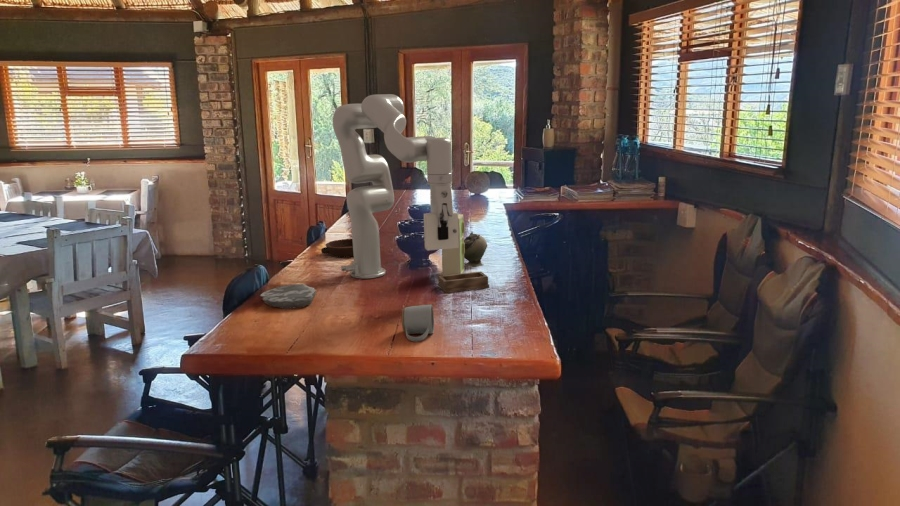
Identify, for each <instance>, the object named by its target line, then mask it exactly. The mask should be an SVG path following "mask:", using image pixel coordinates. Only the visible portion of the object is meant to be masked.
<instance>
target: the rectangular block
mask: <svg viewBox="0 0 900 506" xmlns="http://www.w3.org/2000/svg"><path fill="white" fill-rule="evenodd" d="M448 214H449V213H448ZM458 214H459V213H458V212H457V211H455V210H453V216H452V217H450V215H448V239H447V240H438V227H439V224H438V217H437V216H436V215H435V214H434V213H432V212H425V213H423V233H424V234H423V236H424V238H423V239H424V249H425V250H426V251H436V250H437V251H438V250H442V249H451V248H459V240H458ZM440 217H443V215H441V216H440ZM441 220H443V219H441Z"/></svg>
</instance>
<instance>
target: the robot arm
mask: <svg viewBox="0 0 900 506" xmlns="http://www.w3.org/2000/svg"><path fill="white" fill-rule="evenodd" d="M404 111H405V106H404V102H403V100H402V98H400V97H399V96H398V95H396V94H391V93H387V94H386V93H385V94H380V93H379V94H370V95H368V96H366V97H365V98H364V99H363V100H362V102H361V103H348V104H347V103H346V104H342V105H340V106H338V107H337V108H336V109H335V111H333V112H334V113H333V117H332V127H333V132H334V134H335V137H336V139H337V142H338V145H339V148H340V152H341V157H342V163H343V169H344V172H345V176H346V179H347V181H348V182H349V183H352V184H366V183H372V185H367V186H360V187H359V186H357V187H355V188H353V189H352V190H350V191H349V192H348V193H347V195H346V204H347V205H346V206H347V208H348V209H347V210H348V213H349V217H350V227H351V236H352V237H351V239H352V240H353V255H354V257H353V261H352V262H351V263H350V264H348V265H347V264H346V265H340V268H341V269H340V270H341V272H344V271H345V273H346V272H350V273H349V274H350V276H351V277H352V278H354V279H368V280H369V279H374V278H375V279H376V278H380V277H382V276H384V275H385V274H387V273H386V271H387V270H386V269H385V268H383V267H382V264H381V246H380V242H381V241H380V232H379V231H380V229H379V228H380V227H379V223H378V221H377V219H376V218H375V216H374V213H378V212H383V211H388V210H391V208H392V207H393V206H394V205H395V204H394V203H395V194H394V187H393V182H392V175H391V171H390V167H389V164H388V162H387V160H386V158H385V157H383V156H382V155H381V154H367V151H366V150H367V149H366V146H365V142H364V140H363V138H362V137H361V135H360V134H359V133H358V132H357V131H356V130H357V129H358V130H361V129H364V130H365V129H376V128H378V129H379V130H380V131H381V132H382V133H383V139H384V144H385V147H386V148H387V150H388V151H389V152H390V154H392V155H393V156H394V157H396V159H398V160H399V161H400V162H404V163H407V164H408V163H415V162H416V163H418V162H426V175H427V177H426V179H427V185H428V186H430V193H429V195H430V213H434V214H435V215H436V216H437V217H438V224H439V227H438V240H447V239H448V215H450V217H452V216H453V211H454V208H453V206H454V205H453V194H452V187H451V186H452V184H453V159H452V158H453V157H452V141H451V139H450V138H447V137H435V136H430V135H425V136H423V135H422V136H410V137H409V136H408V137H406V136H404V135H403V134H402V133H403V132H404V130H405V128H406V126H407V118H406V116H405V115H404ZM448 213H449V214H448ZM441 215H443V217H440V216H441ZM441 219H443V220H441Z"/></svg>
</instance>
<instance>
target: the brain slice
mask: <svg viewBox="0 0 900 506" xmlns="http://www.w3.org/2000/svg"><path fill="white" fill-rule="evenodd" d="M316 293H317V291H316V289H315V287H312V286H308V285H307V284H305V283H295V284H286V285H279V286H277V287H274V288H271V289H267V290H266V291H264V292H262V293H261V294H259V296H260V297H261V299H262V301H263V302H264V304H266V305H268V306H270V305H271V306H270V307H272V306H274V307H273V308H276V307H280V309H294V308H293V307H296V308H304V307H303V306H305V307H307V306H306V305H308V306H310V305H311V304H312V302H313V300H314V298H315V297H316V295H317V294H316Z"/></svg>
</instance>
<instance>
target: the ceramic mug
mask: <svg viewBox="0 0 900 506" xmlns="http://www.w3.org/2000/svg"><path fill="white" fill-rule="evenodd" d="M401 326H402V327H401V328H402V331H403V333H405V336H406V338H407V339H408V340H409V341H411V342H422V341H424V340H426V339H427V337H428V335H433V334H434V331H435V317H434V308H433V305H432V304H422V305H411V306H410V305H409V306H406V307H403V309H402V310H401ZM415 334H417V335H418V334H419V335H418V336H413V335H415ZM411 335H412V336H411Z"/></svg>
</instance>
